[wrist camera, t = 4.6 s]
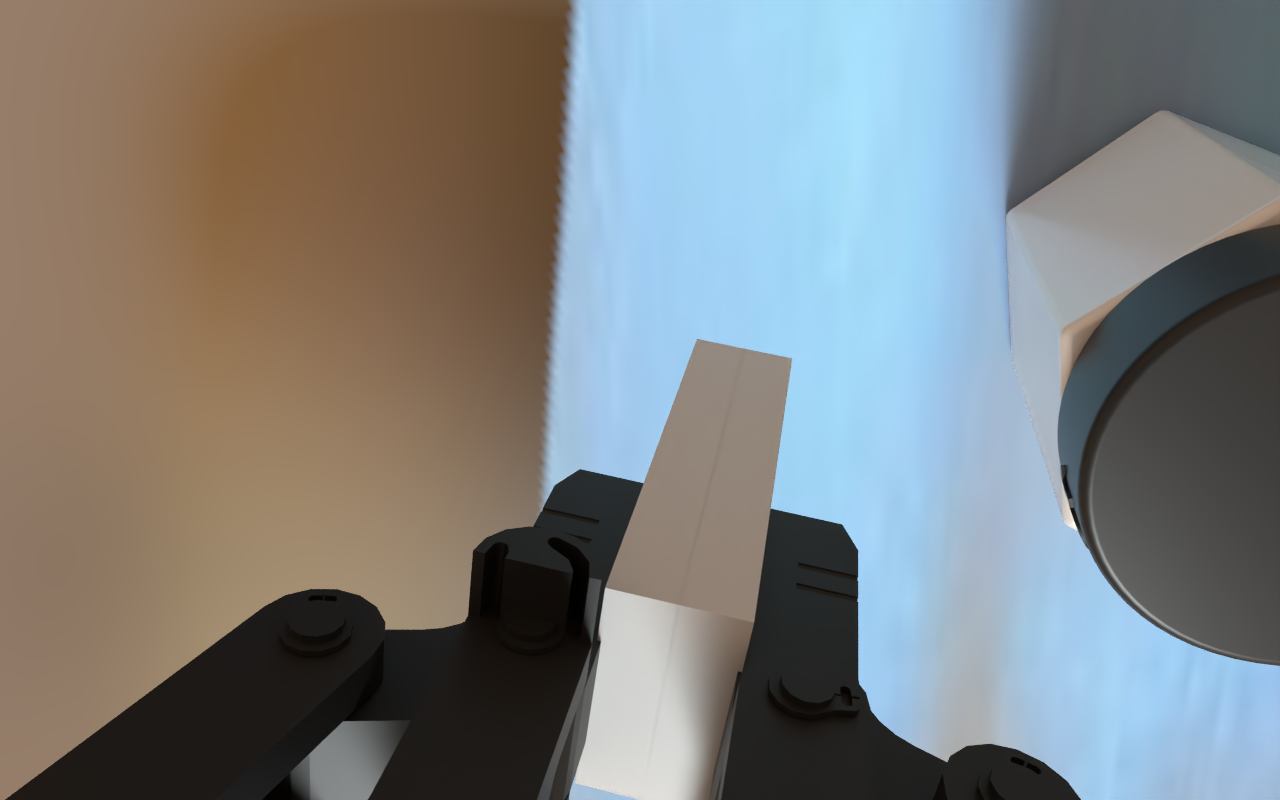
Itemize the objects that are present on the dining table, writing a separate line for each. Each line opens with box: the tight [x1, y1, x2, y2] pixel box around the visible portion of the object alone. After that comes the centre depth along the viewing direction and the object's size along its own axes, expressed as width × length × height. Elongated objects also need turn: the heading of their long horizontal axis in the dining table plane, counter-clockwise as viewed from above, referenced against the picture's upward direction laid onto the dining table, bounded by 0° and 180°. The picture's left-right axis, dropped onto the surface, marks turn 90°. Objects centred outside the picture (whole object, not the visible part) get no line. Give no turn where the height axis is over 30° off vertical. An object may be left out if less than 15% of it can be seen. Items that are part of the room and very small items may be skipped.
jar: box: [1006, 110, 1280, 666], centre depth 23 cm, size 9×8×12 cm
